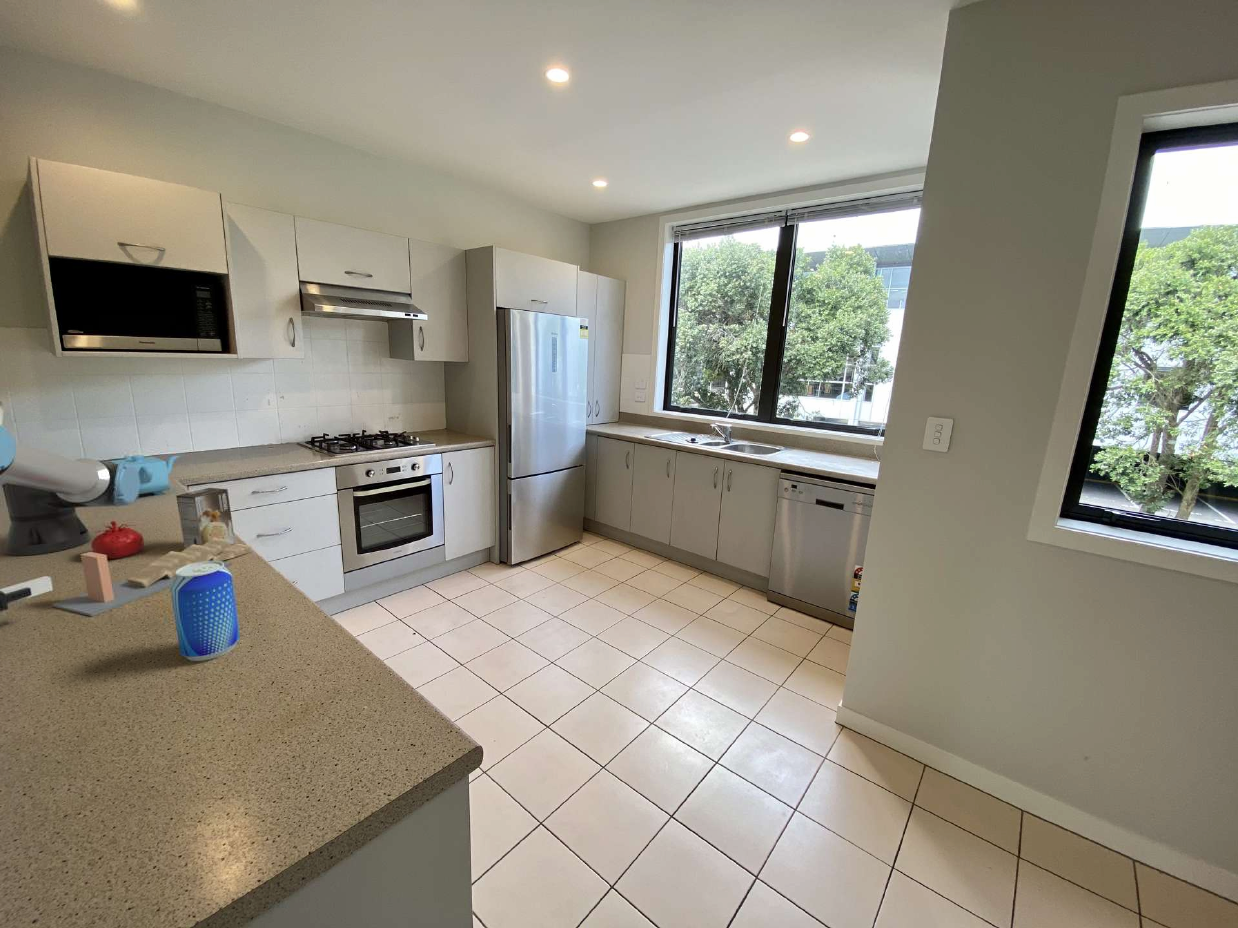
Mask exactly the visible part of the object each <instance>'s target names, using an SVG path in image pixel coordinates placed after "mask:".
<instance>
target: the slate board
mask: <svg viewBox="0 0 1238 928" xmlns="http://www.w3.org/2000/svg"><path fill="white" fill-rule="evenodd" d="M220 562H223V563H224V567H225V568H227V567H230V566H232V565H233V564H232V562H228V561H225V560H223V561H220ZM174 578H175V576H174V577H173V578H171V579H167V578H163V577H161V578H160V579H158V580H157V581H155V582H154V583H152V584H151V585H149V586H148V587H146V588H144V587H140V586H135V585H130V583H129V582H128V581H127V579H125V580H122V581H119V582H116V583H113V584H112V589H113V595H114V599H113V600H110V601H107V602H101V601H97V600H93V599H89V597H88V592H85V593H84V594H80V595H77V596H74V597H71V598H67V599H66V600H62V601H59V602H56V603H52V606H51V607H52V608H56V609H60V610H64V611H68V612H71V613H72V612H73V613H76V614H81V615H83V616H89V617H93V616H96V615H99V614H102V613H104V612H107V611H111V610H113V609H115V608H119V607H121V606H124V605H126V604H130V603H132V602H135V601H137V600H140V599H143V598H146V597H148V596H151V595H153V594H156V593H159V592H161V591H164V590H167V589H170V585H171V583H172V581H173V579H174Z"/></svg>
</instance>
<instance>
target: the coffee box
mask: <svg viewBox="0 0 1238 928" xmlns="http://www.w3.org/2000/svg"><path fill="white" fill-rule="evenodd" d="M175 497H176V501H177V503H176V504H177V510H178V514H179V515H178V516H179V521H180V527H181V533H182V534H181V535H182V540H183V545H184V546H183V547H184V550H185V549H187V548H188V547H190V546H191V545H193V544H194V545H200V546H202V545H204V544H205V543H207V542H208V541H210V540H211V539H213V538H217V539H223V540H228V541H229V543H230V546H232V545H235V544H236V539H235V531H234V525H233V519H232V512H231V504H230V499H229V491H228V489H227V488H219V487H218V488H217V487H206V488H203V489H202V488H201V489H198V490H194V491H190V492H186V493H181V494H177V495H175Z"/></svg>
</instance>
